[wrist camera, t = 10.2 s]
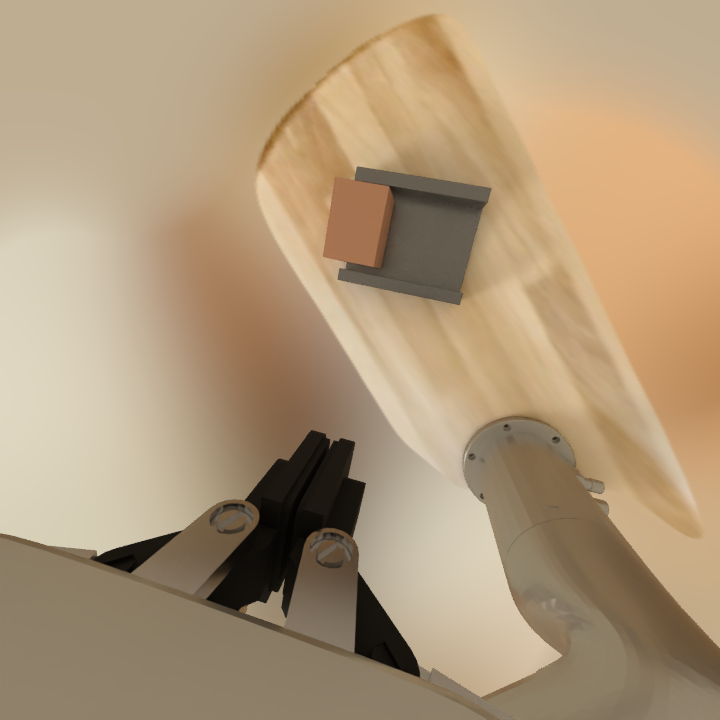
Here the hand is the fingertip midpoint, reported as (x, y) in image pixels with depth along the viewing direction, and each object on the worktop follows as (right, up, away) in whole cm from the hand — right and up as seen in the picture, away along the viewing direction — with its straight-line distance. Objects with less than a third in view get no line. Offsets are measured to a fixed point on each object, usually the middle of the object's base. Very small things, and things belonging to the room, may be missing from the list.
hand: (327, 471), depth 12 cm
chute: (+7, +17, +25) cm, 31 cm away
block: (+2, +18, +24) cm, 30 cm away
